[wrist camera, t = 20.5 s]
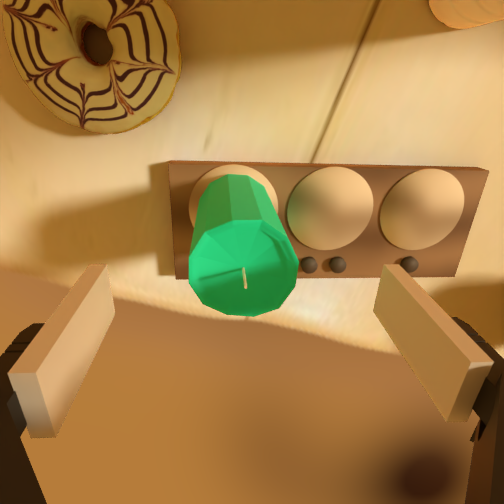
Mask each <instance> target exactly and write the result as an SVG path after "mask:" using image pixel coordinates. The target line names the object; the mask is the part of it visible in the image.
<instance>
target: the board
mask: <svg viewBox="0 0 504 504" xmlns="http://www.w3.org/2000/svg"><path fill="white" fill-rule="evenodd" d="M168 167H169V182H170V198H171V213H172V228H173V244H174V259H175V274H176V279H189V254H190V248H191V243H192V237H193V232H194V226H195V221H196V215H197V210H198V204H199V199H200V197H201V196H202V194H203V193H204V191H205V190H206V188H207V186H208V185H209V183H211V182H213V181H215V180H217V179H219V178H221V177H223V176H225V175H227V174H237V175H248V176H250V177H251V178H253V179H254V180H256V181H257V182H259V183H260V184H262V185H263V186H264V187H265V189H266V191H267V193H268V196H269V198H270V200H271V202H272V204H273V206H274V208H275V211H276V213H277V215H278V217H279V219H280V221H281V224H282V226H283V228H284V230H285V232H286V234H287V237H288V239H289V241H290V243H291V245H292V247H293V250H294V252H295V254H296V256H297V258H298V260H299V266H298V272H297V278H381V274H382V270H383V266H384V264H399V265H400V266H401V267H402V268H403V269H404V270H405V271H406V272H407V273H408V274H409V275H410V276H411V277H455V274H456V271H457V268H458V265H459V262H460V259H461V256H462V252H463V249H464V246H465V243H466V240H467V237H468V234H469V231H470V228H471V225H472V222H473V219H474V216H475V213H476V210H477V207H478V204H479V201H480V198H481V195H482V192H483V189H484V186H485V183H486V180H487V177H488V174H489V171H488V170H485V169H481V168H478V167H446V166H400V165H355V164H309V163H264V162H218V161H173V160H171V161H170V162H169V164H168Z"/></svg>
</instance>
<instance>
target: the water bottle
mask: <svg viewBox="0 0 504 504" xmlns="http://www.w3.org/2000/svg"><path fill="white" fill-rule="evenodd" d="M429 6H430V9H431V11H432V12H433V14H434V15H435V17H436V18H437V19H438V20H439V21H441V22H443V23H445V25H447V26H449V27H452V28H457V29H466V28H472V27H477V26H480V25H484V24H488V23H491V22H494V21H500V20H504V0H429Z"/></svg>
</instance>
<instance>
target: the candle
mask: <svg viewBox="0 0 504 504" xmlns="http://www.w3.org/2000/svg"><path fill="white" fill-rule="evenodd" d="M298 266H299V260H298V258H297V256H296V254H295V252H294V250H293V247H292V245H291V243H290V241H289V239H288V237H287V234H286V232H285V230H284V228H283V226H282V224H281V221H280V219H279V217H278V215H277V213H276V211H275V208H274V206H273V204H272V202H271V200H270V198H269V196H268V193H267V191H266V189H265V187H264V186H263V185H262V184H260V183H259V182H257V181H256V180H254V179H253V178H251V177H250V176H248V175H237V174H227V175H225V176H223V177H221V178H219V179H217V180H215V181H213V182H211V183H209V185H208V186H207V188H206V190H205V191H204V193H203V194H202V196H201V197H200V199H199V204H198V210H197V215H196V221H195V226H194V232H193V237H192V243H191V248H190V254H189V284H190V286H191V287H192V289H193V290H194V292H195V293H196V294H197V296H198V297H199V299H200V300H201V302H202V303H203V304H204V305H206V306H208V307H211V308H213V309H215V310H217V311H220V312H222V313H224V314H226V315H239V316H252V317H254V316H257V315H260V314H263V313H266V312H269V311H272V310H275V309H279V308H280V306H281V305H282V304H283V302H284V301H285V300H286V298H287V297H288V295H289V294H290V293H291V291H292V290H293V289H294V287H295V284H296V278H297V272H298Z"/></svg>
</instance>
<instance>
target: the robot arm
mask: <svg viewBox="0 0 504 504" xmlns="http://www.w3.org/2000/svg"><path fill="white" fill-rule="evenodd" d="M373 312H374V313H375V315H376V316H377V318H378V319H379V321H380V322H381V324H382V325H383V327H384V328H385V330H386V331H387V333H388V334H389V336H390V337H391V339H392V340H393V342H394V343H395V345H396V346H397V348H398V349H399V351H400V353H401V354H402V356H403V357H404V359H405V360H406V362H407V363H408V365H409V366H410V367H411V369H412V371H413V372H414V374H415V375H416V377H417V378H418V380H419V381H420V382H421V384H422V386H423V387H424V389H425V390H426V392H427V393H428V395H429V397H430V398H431V400H432V401H433V403H434V404H435V405H436V407H437V409H438V410H439V412H440V413H441V415H442V416H443V418H444V419H445V421H446V422H466V421H467V420H468V418H469V416H470V414H471V412H472V409H473V410H474V411H475V412H476V414H477V415H478V416H479V417H480V420H479V422H478V424H477V426H476V428H475V431H474V433H473V435H472V437H471V439H470V441H472V442H474V447H473V453H472V460H471V466H470V473H469V479H468V485H467V492H466V499H465V504H504V359H503V358H502V357H501V356H500V355H499V354H498V353H497V352H496V351H495V350H494V349H493V348H492V347H491V346H490V345H489V344H488V343H486V342H485V340H484V339H483V338H482V337H481V336H480V335H479V336H478V333H477V332H476V331H475V330H474V329H473V328H472V327H471V326H470V325H468V324H467V323H465V322H463V321H462V320H460V319H458V318H457V317H450V316H449V315H448V314H447V313H446V312H445V311H444V310H443V309H442V308H441V307H440V306H439V305H438V304H437V303H436V302H435V301H434V300H433V299H432V298H431V297H430V296H429V295H428V294H427V293H426V292H425V291H424V290H423V289H422V288H421V286H420V285H419V284H418V283H417V282H416V281H415V280H414V279H413V278H412V277H411V276H410V275H409V274H408V273H407V272H406V271H405V270H404V269H403V268H402V267H401V266H400V265H399V264H384V266H383V270H382V274H381V279H380V283H379V287H378V292H377V296H376V300H375V305H374V309H373ZM114 315H115V310H114V303H113V297H112V291H111V285H110V279H109V273H108V266H107V264H90V265H89V266H88V267H87V269H86V270H85V271H84V273H83V274H82V275H81V277H80V278H79V279H78V281H77V282H76V283H75V285H74V286H73V287H72V289H71V290H70V291H69V293H68V294H67V295H66V297H65V298H64V299H63V301H62V302H61V303H60V305H59V306H58V307H57V309H56V310H55V311H54V312H53V314H52V315H51V316H50V318H49V319H48V320H47V322H46V323H39V324H38V323H36V324H32V325H30V326H29V327H27V328H26V329H24V330H23V331H22V332H20V333H19V335H18V336H17V337H16V338H15V339H14V341H13V342H12V344H11V345H9V347H8V348H7V349H6V350H5V353H3V354H2V355H1V356H0V504H47V503H46V500H45V498H44V496H43V493H42V490H41V488H40V486H39V483H38V481H37V478H36V476H35V473H34V471H33V468H32V466H31V463H30V461H29V458H28V456H27V454H26V451H25V448H24V446H23V444H22V441H21V439H20V436H21V434H22V432H23V431H24V429H25V428H26V426H27V429H28V431H29V435H30V437H31V438H52V437H56V436H57V434H58V432H59V430H60V428H61V426H62V423H63V422H64V419H65V417H66V415H67V413H68V411H69V409H70V407H71V405H72V403H73V401H74V399H75V396H76V394H77V392H78V390H79V388H80V386H81V384H82V382H83V380H84V378H85V376H86V374H87V371H88V369H89V367H90V365H91V363H92V361H93V359H94V357H95V355H96V352H97V351H98V348H99V346H100V344H101V342H102V340H103V338H104V336H105V334H106V332H107V330H108V328H109V326H110V324H111V321H112V319H113V317H114Z"/></svg>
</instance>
